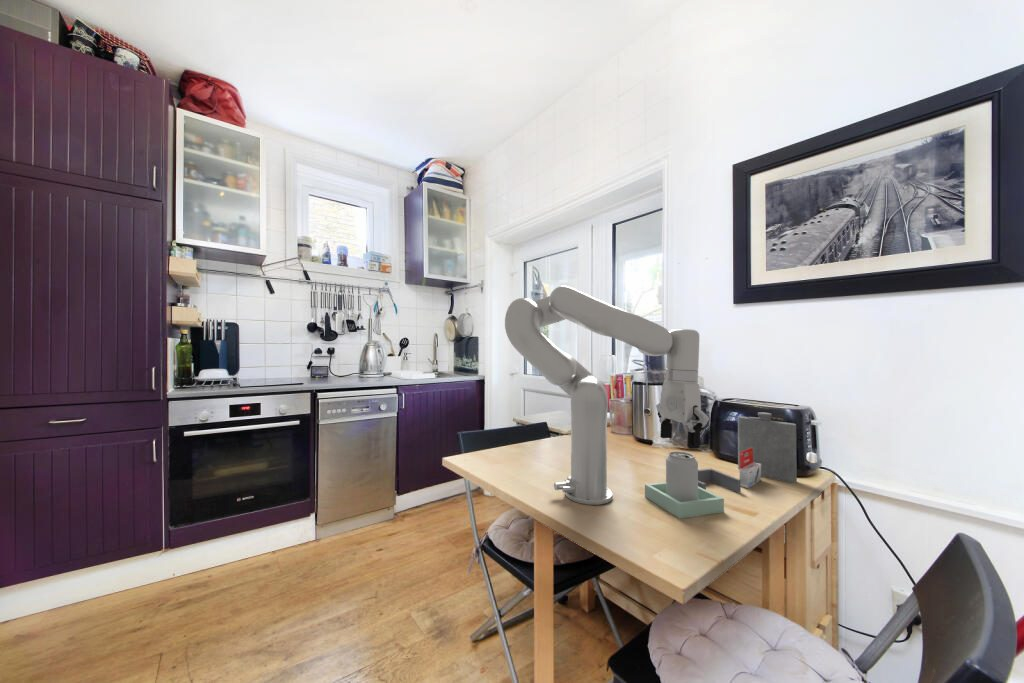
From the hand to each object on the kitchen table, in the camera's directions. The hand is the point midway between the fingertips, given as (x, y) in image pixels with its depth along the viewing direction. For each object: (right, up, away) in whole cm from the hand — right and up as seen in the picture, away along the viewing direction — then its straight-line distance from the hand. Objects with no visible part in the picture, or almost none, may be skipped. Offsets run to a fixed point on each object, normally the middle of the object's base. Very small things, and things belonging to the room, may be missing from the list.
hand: (679, 442), depth 93 cm
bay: (+13, -16, +10) cm, 23 cm away
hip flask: (+38, -17, +22) cm, 47 cm away
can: (0, -15, 0) cm, 15 cm away
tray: (+1, -16, -1) cm, 16 cm away
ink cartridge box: (+28, -17, +15) cm, 36 cm away
